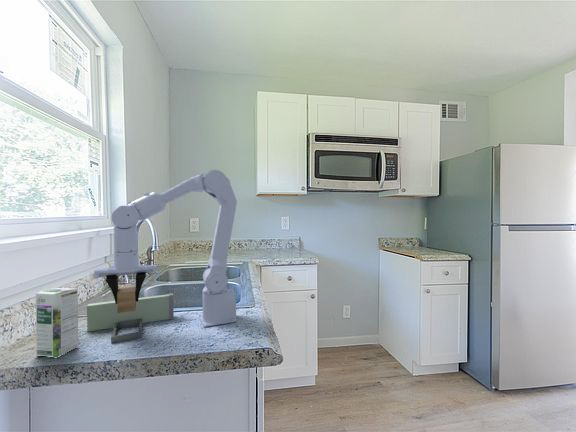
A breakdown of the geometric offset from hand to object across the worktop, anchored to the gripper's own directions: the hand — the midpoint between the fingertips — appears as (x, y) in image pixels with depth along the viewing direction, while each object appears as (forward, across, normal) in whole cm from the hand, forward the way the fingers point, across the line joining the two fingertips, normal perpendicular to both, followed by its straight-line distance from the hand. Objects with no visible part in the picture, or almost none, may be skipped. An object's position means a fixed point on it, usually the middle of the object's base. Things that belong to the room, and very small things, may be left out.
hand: (127, 301), depth 79 cm
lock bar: (+2, 0, 0) cm, 2 cm away
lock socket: (+8, 0, 0) cm, 8 cm away
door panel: (+8, -1, -7) cm, 11 cm away
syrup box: (+9, +14, +5) cm, 17 cm away
